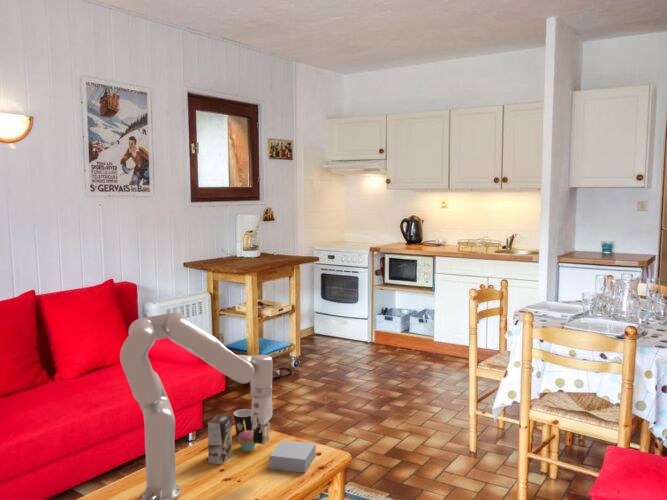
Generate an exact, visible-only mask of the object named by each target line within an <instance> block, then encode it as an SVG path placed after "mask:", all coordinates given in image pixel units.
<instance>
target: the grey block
mask: <svg viewBox="0 0 667 500" xmlns="http://www.w3.org/2000/svg"><path fill="white" fill-rule="evenodd" d="M316 447H317V444H316V443H312V442H310V443H309V442H302V441H295V440H294V441H293V440H292V441H291V440H285V439H281V440H280V441H279V443H278V444H277V445H276V446H275V448H274V449H273V450H272V451H271V452H270V454H269V456H268V457H269V458H268V462H269V463H268V464H269V465H268V466H269V469H271V470H279V471H287V472H288V471H289V472H294V473H295V472H296V473H302V474H303V473H304V474H305V473H307V471H308V470H309V468H310V466H311V465H312V462H314V460H315V458H316V457H317V456H316V452H317V450H316ZM313 459H314V460H313Z"/></svg>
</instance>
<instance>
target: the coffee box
mask: <svg viewBox="0 0 667 500" xmlns="http://www.w3.org/2000/svg"><path fill="white" fill-rule="evenodd" d="M232 420H233V419H232V415H231V414H221V413H217V414H216V415H214V416H213V417H212V418H211V419H210V420H209V421H208V422H207V432H208V433H207V434H208V435H207V436H208V438H207V441H208V444H207V445H208V446H207V447H208V448H207V449H208V450H207V451H208V464H217V465H224V464H225V463H226V462H227V461H228V459H229V458H230V457H231V456H233V433H232V432H233V429H232V427H233V425H232V424H233V422H232Z"/></svg>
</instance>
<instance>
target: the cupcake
mask: <svg viewBox="0 0 667 500" xmlns="http://www.w3.org/2000/svg"><path fill="white" fill-rule="evenodd" d="M243 424H244V430H245V431H243V432H241V433H239V435H238V436H237V435H236V439H237V442H238V443H239V445H240V447H241V449H242V451H245V452H249V451H253V450H254V449H255V447H256V446H255V445H256V443H252V430H247V431H246V426H245V421H244V419H243Z"/></svg>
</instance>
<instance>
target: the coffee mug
mask: <svg viewBox="0 0 667 500" xmlns="http://www.w3.org/2000/svg"><path fill="white" fill-rule="evenodd" d="M243 419H244V421H245V426H246V431H247V430H252V423H251V409H249V408H244V409H237V410H235V411H234V412H233V420H234V427H235V434H236V437H237V436H238V435H239V433H241V432H243V431H245V430H244V424H243Z"/></svg>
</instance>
